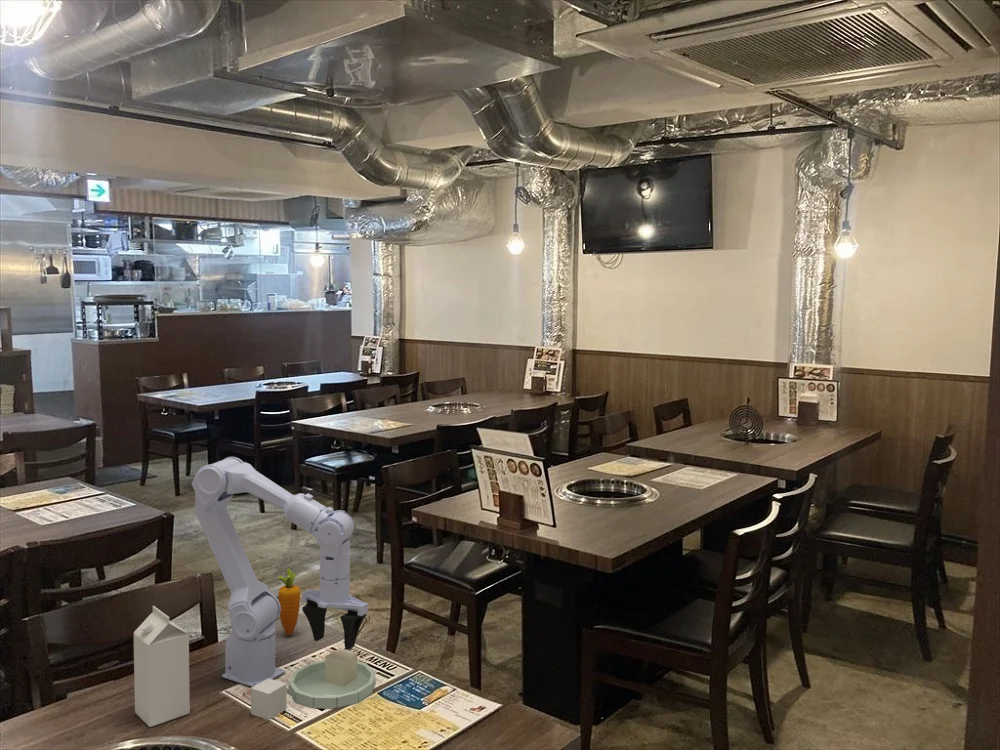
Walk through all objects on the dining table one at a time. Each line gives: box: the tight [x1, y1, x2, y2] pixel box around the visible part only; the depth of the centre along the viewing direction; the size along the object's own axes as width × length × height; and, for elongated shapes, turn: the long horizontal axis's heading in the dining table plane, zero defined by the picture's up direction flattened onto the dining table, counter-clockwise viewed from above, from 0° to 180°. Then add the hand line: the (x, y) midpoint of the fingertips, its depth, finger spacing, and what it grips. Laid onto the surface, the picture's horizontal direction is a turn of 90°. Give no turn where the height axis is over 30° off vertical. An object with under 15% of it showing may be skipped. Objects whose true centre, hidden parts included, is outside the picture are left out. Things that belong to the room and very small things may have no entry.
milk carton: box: [133, 605, 191, 728], centre depth 141 cm, size 7×7×19 cm
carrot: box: [277, 568, 301, 636], centre depth 175 cm, size 5×5×15 cm
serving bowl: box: [288, 659, 376, 709], centre depth 153 cm, size 16×16×2 cm
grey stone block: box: [250, 678, 287, 721], centre depth 143 cm, size 4×4×5 cm
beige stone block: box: [324, 647, 358, 686], centre depth 155 cm, size 4×4×5 cm
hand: (334, 643), depth 153 cm, fingers open, 7 cm apart
